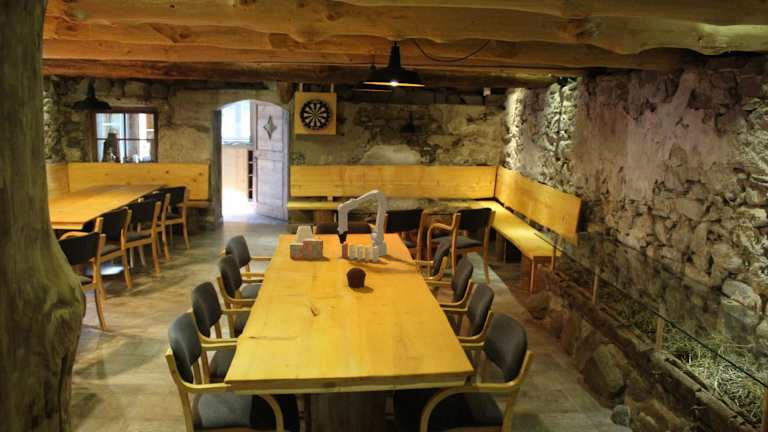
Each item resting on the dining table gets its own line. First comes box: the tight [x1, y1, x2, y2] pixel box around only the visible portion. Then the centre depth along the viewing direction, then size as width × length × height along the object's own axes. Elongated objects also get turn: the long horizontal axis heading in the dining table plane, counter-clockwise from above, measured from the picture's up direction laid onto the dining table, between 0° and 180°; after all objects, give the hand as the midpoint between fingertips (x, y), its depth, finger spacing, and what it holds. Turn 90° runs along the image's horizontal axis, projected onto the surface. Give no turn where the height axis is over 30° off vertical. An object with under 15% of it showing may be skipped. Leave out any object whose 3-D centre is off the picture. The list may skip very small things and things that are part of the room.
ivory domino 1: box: [348, 243, 356, 259], centre depth 400 cm, size 2×5×9 cm, turn 157°
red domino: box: [341, 242, 349, 258], centre depth 402 cm, size 2×5×9 cm, turn 158°
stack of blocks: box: [289, 238, 324, 260], centre depth 405 cm, size 21×6×12 cm, turn 85°
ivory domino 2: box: [356, 244, 364, 261], centre depth 398 cm, size 2×5×9 cm, turn 157°
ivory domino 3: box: [364, 245, 372, 262], centre depth 396 cm, size 2×5×9 cm, turn 158°
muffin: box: [345, 267, 367, 289], centre depth 338 cm, size 12×11×10 cm
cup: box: [294, 225, 315, 243], centre depth 440 cm, size 13×13×14 cm
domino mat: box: [337, 255, 380, 263], centre depth 399 cm, size 28×8×1 cm, turn 67°
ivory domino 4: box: [372, 246, 379, 263], centre depth 394 cm, size 2×5×9 cm, turn 157°
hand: (343, 242), depth 402 cm, fingers open, 7 cm apart
